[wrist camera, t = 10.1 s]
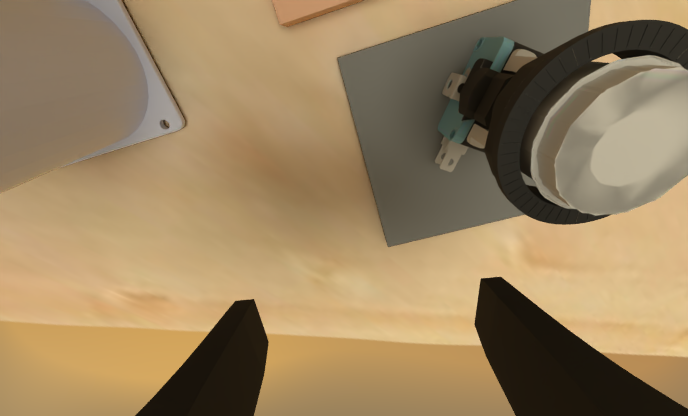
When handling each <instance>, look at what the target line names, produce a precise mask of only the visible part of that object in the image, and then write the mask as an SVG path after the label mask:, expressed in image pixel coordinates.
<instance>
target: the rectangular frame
mask: <svg viewBox="0 0 688 416" xmlns="http://www.w3.org/2000/svg"><path fill="white" fill-rule="evenodd" d="M361 1H364V0H272V2H273V5H274V8H275V11H276V14H277V17H278V20H279V23H280V25H283V26H286V27H288V26H291V25H294V24H297V23H300V22H303V21H306V20H309V19H312V18H314V17H317V16H320V15H323V14H326V13H329V12H332V11H335V10H338V9H341V8H344V7H347V6H350V5H352V4H355V3H358V2H361Z"/></svg>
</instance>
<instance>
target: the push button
mask: <svg viewBox="0 0 688 416" xmlns="http://www.w3.org/2000/svg"><path fill="white" fill-rule="evenodd" d="M611 53H613V54H615V55H617V56H618V57H620V58H621V60H617V61H614V62H612V63H602V62H591V61H592V60H595V59H597V58H599V57H602V56H604V55H607V54H611ZM451 81H452V84H451V86H450V87H449V89H448V86H449V84H450V82H451ZM442 94H443V95H445V96H447V97H450V98H451V99H450V101H449V103H448V106H447V108H446V110H445V112H444V114H443V116H442V118H441V120H440V122H439V125H438V131H439V132H441V133H442V134H443V135H444V137H443V139H442V141H441V143H440V144H443V145H442V147H441V149H440V151H439V153H438V155H437V157H436V159H435V163H437V164H440V166H439V167H440V169H443V170H446V171H449V172H452V171H453V170H454V168H455V166H456V164H457V162H458V160H459V159H460V157H461V155H465V153H466V151H467V149H468V147H470V148H472V149H475V150H478V151H481V152H484V153H485V155H486V158H487V160H488V163H489V166H490V169H491V172H492V174H493V176H495V179H496V181H497V184H498V186H499V188H500V190H501V192H502V193H503V194H504V196H505V197H506V198H507V199H508V200H509V201H510V202H511V203H512V204H513V205H514V206H515V207H516V208H517V209H518V210H520V211H521V212H522V213H524V214H525V215H527V216H529V217H531V218H533V219H536V220H538V221H542V222H546V223H552V224H564V225H566V224H579V223H585V222H590V221H595V220H598V219H601V218H604V217H607V216H610V215H617V214H619V213H624V212H629V211H631V210H633V209H635V208H638V207H640V206H642V205H644V204H647V203H649V202H652V201H655V200H656V199H658V198H660V197H661V196H663V195H664V194H665V193H666V192H667V191H669V190H670V189H671V188H672V187H674V186H675V185H676V184H677V183H678V182H680V181H681V180H682V179H683V178H685V177H686V176H687V175H688V29H686V28H684V27H682V26H680V25H677V24H674V23H670V22H666V21H659V20H636V21H626V22H618V23H613V24H609V25H605V26H602V27H599V28H596V29H593V30H590V31H588V32H586V33H584V34H581V35H579V36H577V37H575V38H573V39H571V40H569V41H567V42H565V43H564V44H562V45H560V46H558V47H556V48H554V49H553V50H551V51H549V52H547V53H545V54H543V53H541V52H539V51H536V50H534V49H531V48H529V47H527V46H524V45H522V44H519V43H517V42H515V41H512V40H510V39H508V38H505V37H503V36H501V37H482V38H480V39H479V40H478V42H477V44H476V45H475V48H474V50H473V53H472V55H471V57H470V60H469V62H468V64H467V66H466V68H465V70H464V72H463V74H462V75H460V74H457V73H453V72H452V73H451V74H450V76H449V78H448V80H447V82H446V84H445V86H444V89H443V92H442ZM443 153H446V154H445V156H444V158H443V159H441V155H442V154H443ZM450 159H453V163H452V164H451V165H448V163H449V161H450ZM521 172H522V173H524V174H525V175H527V176H528V177H530V178H531V179H532V180H534V182H535V184H536V186H537V187H536V186H530V185H526V184H525V182H524V180H523V177H522V174H521Z"/></svg>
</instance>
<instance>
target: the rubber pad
mask: <svg viewBox="0 0 688 416" xmlns="http://www.w3.org/2000/svg"><path fill="white" fill-rule="evenodd" d="M590 5H591V0H515V1H512V2H509V3H506V4H503V5H500V6H497V7H494V8H491V9H487V10H484V11H481V12H478V13H475V14H472V15H469V16H466V17H463V18H460V19H456V20H453V21H450V22H447V23H444V24H441V25H438V26H435V27H432V28H429V29H425V30H422V31H419V32H416V33H413V34H410V35H407V36H404V37H401V38H398V39H394V40H391V41H388V42H385V43H382V44H379V45H376V46H373V47H370V48H366V49H363V50H360V51H357V52H354V53H351V54H348V55H345V56H342V57H339V58H338V62H339V66H340V69H341V73H342V77H343V81H344V84H345V88H346V92H347V96H348V99H349V103H350V107H351V111H352V114H353V118H354V122H355V126H356V129H357V133H358V137H359V141H360V144H361V148H362V152H363V155H364V159H365V163H366V167H367V170H368V174H369V178H370V182H371V185H372V189H373V193H374V197H375V200H376V204H377V208H378V212H379V215H380V219H381V223H382V227H383V230H384V234H385V238H386V242H387V245H388V247H391V246H395V245H399V244H403V243H408V242H412V241H416V240H420V239H424V238H429V237H433V236H437V235H441V234H445V233H450V232H454V231H458V230H462V229H466V228H471V227H475V226H479V225H483V224H487V223H492V222H496V221H500V220H504V219H508V218H512V217H517V216H521V215H525V214H524V213H522V212H521V211H520V210H518V209H517V208H516V207H515V206H514V205H513V204H512V203H511V202H510V201H509V200H508V199H507V198H506V197H505V196H504V194H503V193H502V192H501V190H500V188H499V186H498V184H497V181H496V179H495V176H493V174H492V172H491V169H490V166H489V163H488V160H487V158H486V155H485V153H484V152H481V151H478V150H475V149H472V148H470V147H468V149H467V151H466V153H465V155H461V157H460V159H459V160H458V162H457V164H456V166H455V168H454V170H453V171H452V172H449V171H446V170H443V169H440V167H439V166H440V164H437V163H435V159H436V157H437V155H438V153H439V151H440V149H441V147H442V145H443V144H440V143H441V141H442V139H443V137H444V135H443V134H442V133H441V132H439V131H438V125H439V122H440V120H441V118H442V116H443V114H444V112H445V110H446V108H447V106H448V103H449V101H450V99H451V98H450V97H447V96H445V95H443V94H442V92H443V89H444V86H445V84H446V82H447V80H448V78H449V76H450V74H451V73H452V72H453V73H457V74H460V75H462V74H463V72H464V70H465V68H466V66H467V64H468V62H469V60H470V57H471V55H472V53H473V50H474V48H475V45H476V44H477V42H478V40H479V39H480V38H482V37H501V36H503V37H505V38H508V39H510V40H512V41H515V42H517V43H519V44H522V45H524V46H527V47H529V48H531V49H534V50H536V51H539V52H541V53H543V54H545V53H547V52H549V51H551V50H553V49H554V48H556V47H558V46H560V45H562V44H564V43H565V42H567V41H569V40H571V39H573V38H575V37H577V36H579V35H581V34H584V33H586V32H588V28H589V16H590ZM451 84H452V81H451V82H450V84H449V86H448V89H449V87H450V86H451ZM445 154H446V153H443V154H442V155H441V159H443V158H444V156H445ZM452 163H453V159H450V161H449V163H448V165H451V164H452ZM521 174H522V177H523V180H524V182H525V184H526V185H530V186H536V184H535V182H534V180H532V179H531V178H530V177H528V176H527V175H525V174H524V173H522V172H521ZM536 187H537V186H536Z"/></svg>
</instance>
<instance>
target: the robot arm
mask: <svg viewBox="0 0 688 416" xmlns="http://www.w3.org/2000/svg"><path fill="white" fill-rule="evenodd" d="M163 120H166V121H167V122H168V123H169V125H170V126H169V128H168V127H166V126H165V125H164V123H163ZM184 126H185V120H184V117H183V116H182V114H181V112H180V110H179V108H178V106H177V104H176V102H175V100H174V99H173V97H172V95H171V93H170V91H169V89H168V87H167V85H166V84H165V82H164V80H163V78H162V76H161V74H160V72H159V70H158V68H157V67H156V65H155V63H154V61H153V59H152V57H151V55H150V53H149V51H148V50H147V48H146V46H145V44H144V42H143V40H142V38H141V36H140V34H139V33H138V31H137V29H136V27H135V25H134V23H133V21H132V19H131V18H130V16H129V14H128V12H127V10H126V8H125V6H124V4H123V2H122V1H121V0H0V193H2V192H5V191H7V190H9V189H11V188H14V187H16V186H18V185H20V184H23V183H25V182H27V181H30V180H32V179H34V178H36V177H39V176H41V175H43V174H45V173H48V172H50V171H52V170H55V169H57V168H60V167H64V166H67V165H70V164H73V163H76V162H80V161H83V160H86V159H89V158H92V157H96V156H99V155H102V154H105V153H108V152H112V151H115V150H118V149H121V148H124V147H128V146H131V145H134V144H137V143H140V142H143V141H147V140H150V139H153V138H156V137H159V136H163V135H166V134H169V133H172V132H175V131H178V130H180V129H182V128H183V127H184ZM475 327H476V330H477V333H478V335H479V338H480V341H481V344H482V346H483V349H484V351H485V354H486V357H487V359H488V361H489V363H490V365H491V367H492V369H493V371H494V373H495V375H496V377H497V379H498V381H499V383H500V385H501V387H502V389H503V391H504V393H505V395H506V397H507V399H508V401H509V403H510V405H511V407H512V409H513V411H514V413H515V415H516V416H688V409H687V408H685V407H683V406H682V405H680V404H678V403H677V402H675V401H673V400H672V399H670V398H669V397H667V396H666V395H664V394H662V393H661V392H659V391H658V390H656V389H654V388H653V387H651V386H650V385H648V384H646V383H645V382H643V381H642V380H640V379H638V378H637V377H635V376H634V375H632V374H631V373H629V372H628V371H626V370H625V369H623V368H622V367H620V366H619V365H617V364H616V363H614V362H613V361H611V360H610V359H608V358H607V357H605V356H604V355H603V354H601V353H600V352H599V351H597V350H596V349H594V348H593V347H591V346H590V345H588V344H587V343H586V342H584V341H583V340H582V339H580V338H579V337H577V336H576V335H575V334H573V333H572V332H571V331H569V330H568V329H567V328H565V327H564V326H563V325H561V324H560V323H559V322H557V321H556V320H555V319H554V318H552V317H551V316H550V315H548V314H547V313H546V312H545V311H543V310H542V309H541V308H539V307H538V306H537V305H536V304H534V303H533V302H532V301H531V300H529V299H528V298H527V297H526V296H524V295H523V294H522V293H521V292H519V291H518V290H517V289H516V288H514V287H513V286H512V285H511V284H509V283H508V282H507V281H506V280H504V279H503V278H502V277H493V278H482V279H481V281H480V289H479V296H478V303H477V310H476V318H475ZM267 350H268V339H267V336H266V333H265V330H264V327H263V324H262V321H261V318H260V315H259V312H258V309H257V307H256V304H255V301H254V299H251V300H240V301H235V302H234V303H233V305H232V306H231V307H230V308H229V309H228V311H227V312H226V313H225V314H224V315H223V317H222V318H221V319H220V320H219V322H218V323H217V324H216V325H215V326H214V328H213V329H212V330H211V331H210V333H209V334H208V335H207V336H206V338H205V339H204V340H203V341H202V342H201V344H200V345H199V346H198V347H197V348H196V349H195V351H194V352H193V353H192V354H191V355H190V357H189V358H188V359H187V360H186V361H185V363H184V364H183V365H182V366H181V367H180V368H179V369H178V370H177V372H176V373H175V374H174V375H173V376H172V377H171V378H170V379H169V380H168V382H167V383H166V384H165V385H164V386H163V387H162V388H161V389H160V390H159V391H158V392H157V394H156V395H155V396H154V397H153V398H152V399H151V400H150V401H149V402H148V403H147V404H146V405H145V406H144V407H143V408H142V409H141V410H140V411H139V412H138V413H137V414H136V415H135V416H254V412H255V408H256V405H257V401H258V396H259V393H260V389H261V385H262V380H263V377H264V371H265V365H266V357H267Z"/></svg>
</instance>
